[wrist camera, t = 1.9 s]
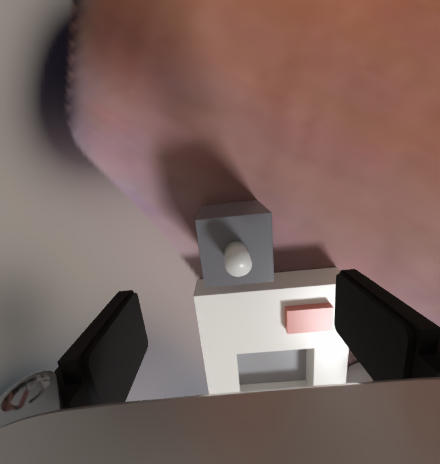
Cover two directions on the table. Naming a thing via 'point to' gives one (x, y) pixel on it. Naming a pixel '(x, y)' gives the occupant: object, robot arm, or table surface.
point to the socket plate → (271, 333)
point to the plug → (235, 243)
